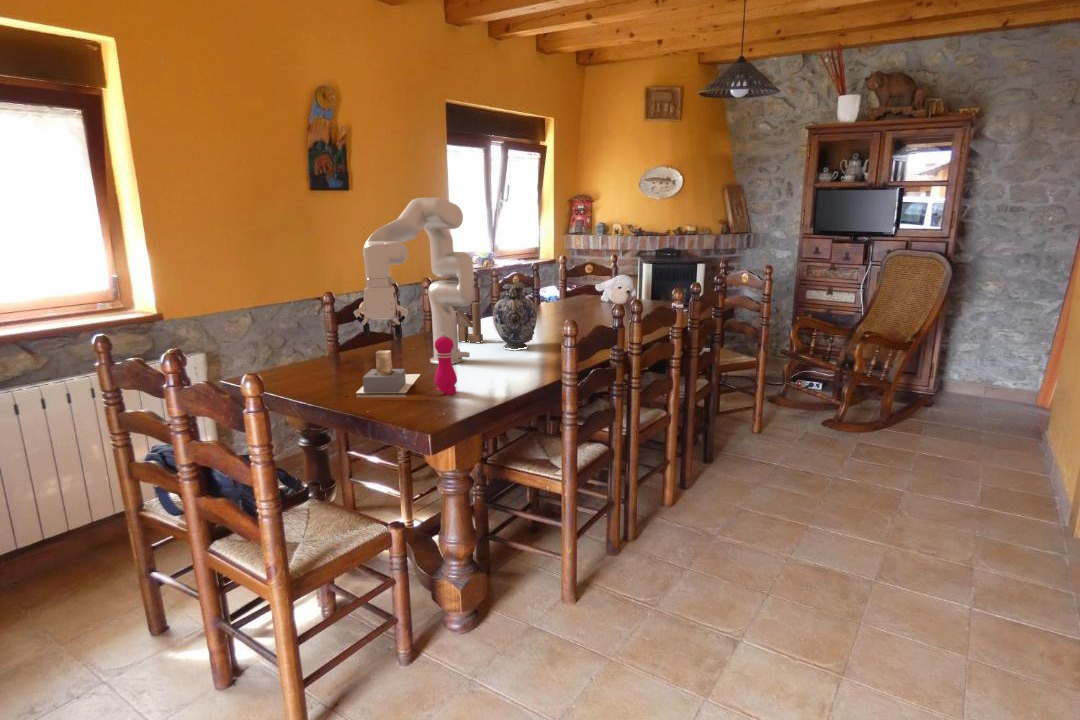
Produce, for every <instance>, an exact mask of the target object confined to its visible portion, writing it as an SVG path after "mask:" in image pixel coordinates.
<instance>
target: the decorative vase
mask: <svg viewBox="0 0 1080 720" xmlns="http://www.w3.org/2000/svg"><path fill="white" fill-rule="evenodd" d="M525 288H526V285H525V284H524V282H520V281H514V282H513V281H511V282H505V283H504V285H503V286H502V289H505V292H506V293H505V297H504V298H502V299H499V300H498V301H497V302H496V303H495V305H494V307H493V311H492V312H493V315H492V317H493V319H492V320H493V324H494V328H495V330H496V333H497V334H498V336H499V337H500V339H501V340H503V342H505V343H506V344H504V345H503V348H504V347H505V348H511V349H518V348H524V347H527V345H528V344H526V343H530V341H532V340H533V338H534V334H535V329H536V325H537V321H538V312H537V311H538V310H537V306H536V304H535V303H534V302H533V300H531V299H530V298H529V297H525V296H524V292H523V290H524V289H525Z"/></svg>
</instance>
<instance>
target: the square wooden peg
mask: <svg viewBox="0 0 1080 720" xmlns="http://www.w3.org/2000/svg"><path fill="white" fill-rule="evenodd" d="M375 363H376V365H375V366H376V369H377V375H392V369H393V363H392V351H391V350H389V349H388V350H377V351H376V352H375Z"/></svg>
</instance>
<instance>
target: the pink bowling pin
mask: <svg viewBox="0 0 1080 720" xmlns="http://www.w3.org/2000/svg"><path fill="white" fill-rule="evenodd" d="M453 347H454V344H453V341H452V339H450V338H448V337H446V333H445V332H442V333H441V337H440V338H438V339H437V340H436V341H435V349H436V350H437V351H438V352H437V357H438V364H437V369H436V371H435V374H434V380H433V381H434V383H435V385H436V386H437V387H436V390H437V391H439V392H443V393H442V394H441V396H452V395H454V394H456V392H457V387H456V383H457V382H458V379H457V378H458V376H457V374H456V371H455V369H454V367H453V364H452V363H451V357H452V356H453V355H452V352H451V350H452V349H453Z"/></svg>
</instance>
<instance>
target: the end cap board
mask: <svg viewBox="0 0 1080 720" xmlns="http://www.w3.org/2000/svg"><path fill="white" fill-rule="evenodd" d="M420 376H421V373H413V374H412V373H409V374H407V373H406V369H405V368H392V375H377V368H372V369H370V370H369V371H368V372H367V373H365V375H364V376H363V377H362V384H363V385H362V386H361V387H360V388H359V389H358V390H357V391H356V392H355V398H356V399H358V398H361V399H362V398H363V399H364V398H368V399H369V398H372V399H373V398H374V399H375V398H407V397H408V395H409V394H406V393H407V392H408V391H409V390H410V388H411V387H413V384H414V383H415V382H416V381H417V380H418V378H419V377H420Z"/></svg>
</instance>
